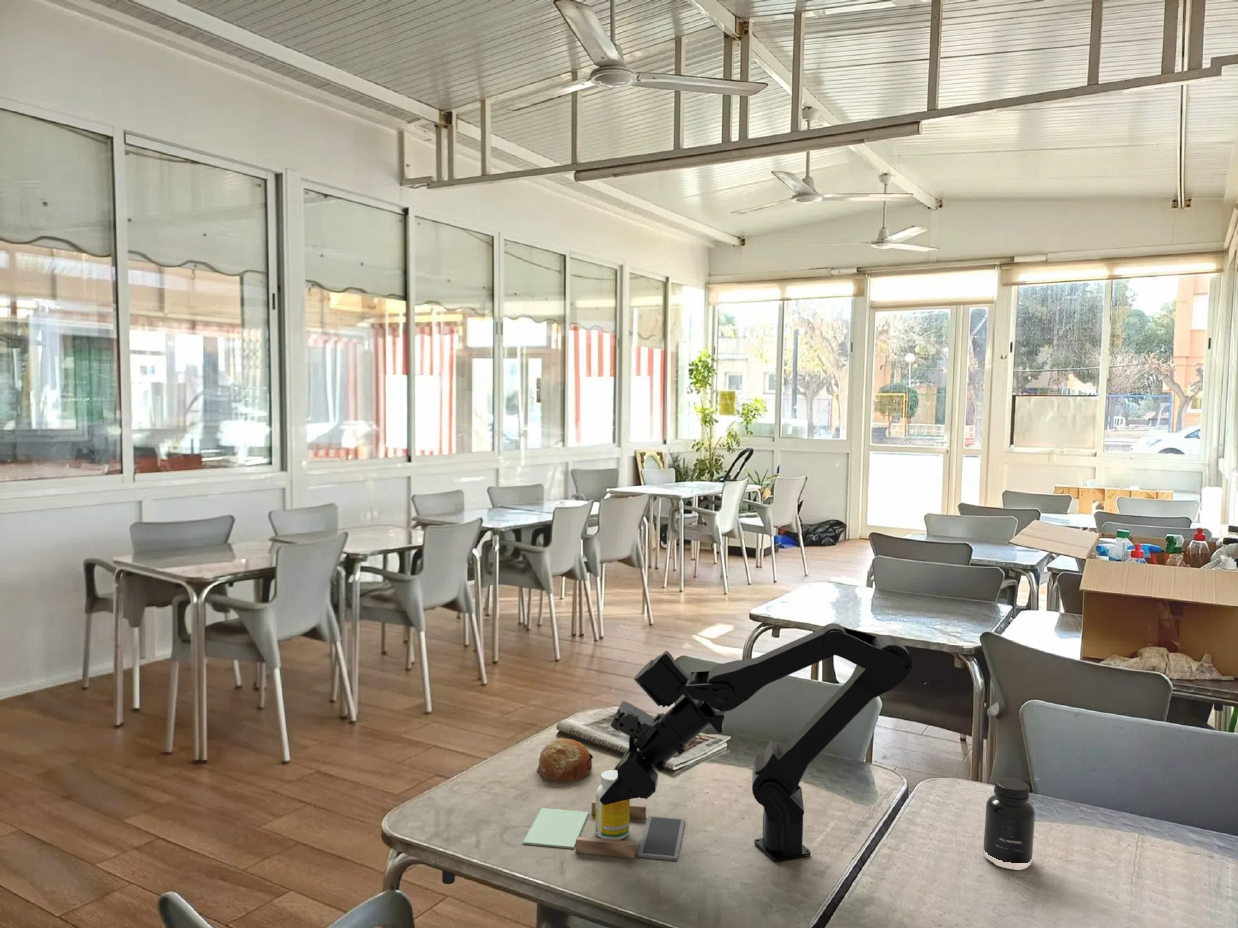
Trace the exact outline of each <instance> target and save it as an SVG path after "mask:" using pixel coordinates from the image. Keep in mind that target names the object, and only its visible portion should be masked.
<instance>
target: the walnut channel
mask: <svg viewBox="0 0 1238 928" xmlns="http://www.w3.org/2000/svg"><path fill="white" fill-rule="evenodd" d="M629 811H630V812H629V819H630V818H631V819H640V820H641V819H642V820H645V819H646V818H647V817H646V816H647V804H643V803H634V802H633V803H631V802H630V809H629ZM591 815H595V816H596V799H592V801H591ZM575 853H579V854H581V853H582V854H587V855H588V854H590V855H598V856H610V857H620V858H621V857H622V858H631V859H635V857H636V842H635V841H631V840H630V841H628V840H609V839H602V838H600V837H597V838H596V837H587V836H579V837H578V836H577V838H576V845H575Z"/></svg>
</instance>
